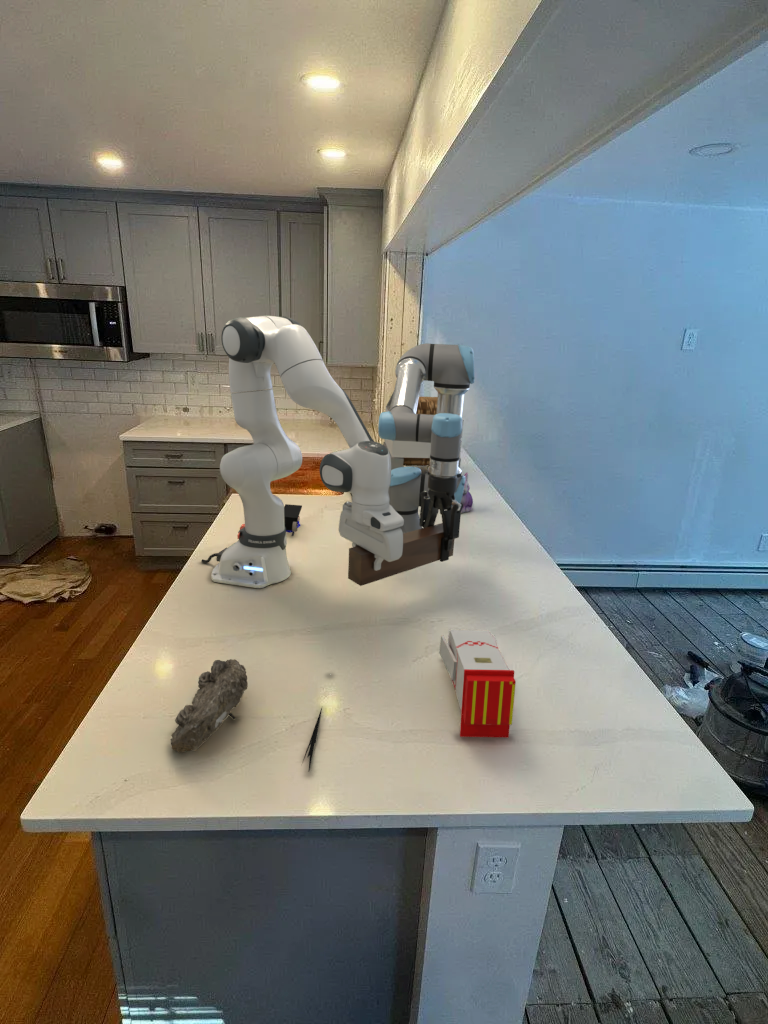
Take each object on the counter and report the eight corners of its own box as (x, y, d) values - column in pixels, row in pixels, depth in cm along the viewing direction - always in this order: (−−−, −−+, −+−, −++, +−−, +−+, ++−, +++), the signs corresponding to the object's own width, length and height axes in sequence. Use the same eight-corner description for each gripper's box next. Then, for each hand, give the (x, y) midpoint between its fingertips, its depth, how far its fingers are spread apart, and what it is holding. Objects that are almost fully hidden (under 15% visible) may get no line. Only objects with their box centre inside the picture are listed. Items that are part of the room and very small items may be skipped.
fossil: (195, 660, 117) (247, 628, 112) (227, 691, 120) (279, 661, 115) (146, 746, 98) (206, 711, 93) (185, 779, 101) (245, 748, 96)
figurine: (459, 514, 221) (463, 477, 216) (445, 506, 229) (448, 470, 224) (479, 511, 225) (483, 475, 220) (464, 503, 234) (467, 468, 228)
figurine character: (298, 542, 192) (303, 521, 206) (297, 522, 189) (302, 503, 202) (278, 541, 192) (284, 521, 205) (277, 521, 189) (283, 502, 202)
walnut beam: (347, 578, 139) (348, 548, 136) (439, 549, 158) (442, 522, 156) (360, 586, 135) (361, 555, 132) (452, 555, 155) (455, 528, 152)
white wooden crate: (381, 463, 289) (385, 382, 275) (444, 464, 292) (450, 384, 279) (389, 482, 257) (393, 392, 243) (459, 483, 261) (467, 394, 247)
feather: (331, 679, 122) (336, 673, 122) (307, 777, 96) (313, 769, 95) (324, 675, 122) (329, 669, 121) (298, 772, 95) (304, 764, 95)
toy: (489, 613, 130) (525, 677, 101) (485, 667, 133) (518, 744, 104) (437, 612, 130) (457, 676, 101) (434, 666, 133) (453, 743, 103)
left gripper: (333, 501, 139) (332, 552, 143) (388, 527, 124) (384, 583, 129) (353, 496, 143) (351, 547, 147) (409, 521, 128) (405, 576, 133)
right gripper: (408, 468, 150) (404, 548, 158) (459, 485, 138) (451, 572, 146) (428, 464, 155) (423, 542, 163) (479, 480, 142) (470, 564, 150)
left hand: (367, 564), depth 138 cm, fingers closed on walnut beam, 5 cm apart
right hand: (436, 556), depth 154 cm, fingers closed on walnut beam, 5 cm apart
